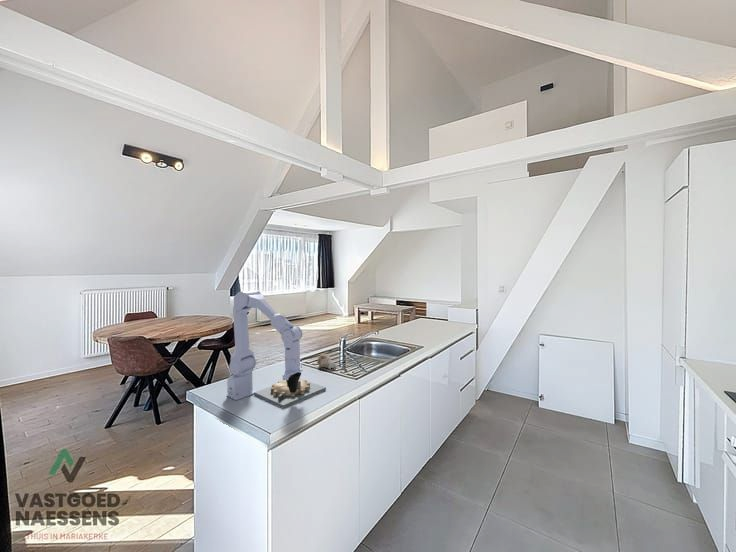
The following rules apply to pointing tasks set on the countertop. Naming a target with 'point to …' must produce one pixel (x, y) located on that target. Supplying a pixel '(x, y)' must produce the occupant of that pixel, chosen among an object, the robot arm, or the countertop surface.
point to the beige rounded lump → (325, 361)
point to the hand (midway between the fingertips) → (293, 392)
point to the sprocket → (284, 389)
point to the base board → (288, 400)
